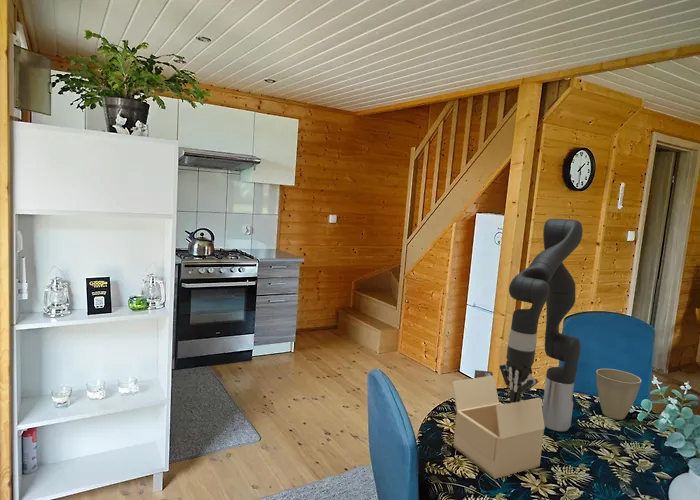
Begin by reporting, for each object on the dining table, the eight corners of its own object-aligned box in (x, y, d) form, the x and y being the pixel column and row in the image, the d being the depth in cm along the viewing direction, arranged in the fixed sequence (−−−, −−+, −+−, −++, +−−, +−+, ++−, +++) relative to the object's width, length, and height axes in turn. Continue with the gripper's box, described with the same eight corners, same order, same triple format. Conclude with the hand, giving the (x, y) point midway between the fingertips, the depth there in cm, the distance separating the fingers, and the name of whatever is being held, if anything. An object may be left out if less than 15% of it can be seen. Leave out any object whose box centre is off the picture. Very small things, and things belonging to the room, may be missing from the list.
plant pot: (635, 414, 181) (641, 374, 179) (635, 428, 168) (641, 386, 166) (593, 403, 188) (598, 365, 187) (589, 416, 176) (594, 375, 174)
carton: (497, 436, 155) (500, 402, 154) (540, 465, 139) (545, 427, 138) (452, 447, 147) (455, 410, 145) (493, 479, 131) (497, 439, 129)
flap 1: (499, 402, 154) (497, 402, 154) (493, 375, 156) (492, 375, 156) (457, 410, 146) (456, 410, 146) (452, 381, 148) (451, 381, 148)
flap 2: (539, 397, 139) (540, 397, 139) (543, 428, 138) (544, 428, 137) (495, 405, 131) (496, 406, 131) (499, 438, 130) (501, 438, 129)
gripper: (549, 352, 130) (541, 411, 132) (514, 337, 142) (507, 391, 144) (530, 354, 127) (522, 414, 129) (495, 339, 138) (488, 394, 141)
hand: (514, 402), depth 136 cm, fingers closed
